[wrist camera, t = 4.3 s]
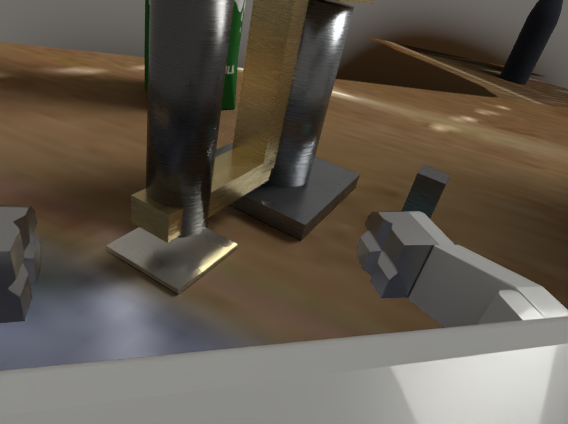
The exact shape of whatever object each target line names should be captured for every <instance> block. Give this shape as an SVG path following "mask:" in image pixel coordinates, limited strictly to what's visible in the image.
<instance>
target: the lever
mask: <svg viewBox="0 0 568 424" xmlns="http://www.w3.org/2000/svg"><path fill="white" fill-rule="evenodd" d="M334 1H337V2H348V3H363V4H373V1H374V0H334ZM308 2H309V0H253V7H252V15H251V21H250V28H249V35H248V42H247V50H246V56H245V63H244V70H243V77H242V84H241V91H240V98H239V105H238V112H237V119H236V126H235V133H234V140H233V147H232V150H230V151H228V152H226V153H223V154H221V155H219V156H217V157H215V155H216V147H217V139H218V130H219V122H220V114H221V105H222V97H223V89H224V80H225V72H226V64H227V56H228V47H229V39H230V31H231V22H232V14H233V6H234V0H150V21H149V66H148V112H147V158H146V189H143V190H141V191H139V192H137V193H134V194H132V195H131V222H132V223H133V224H135V225H137V226H139V227H140V228H142V229H144V230H146V231H147V232H149V233H151V234H153V235H154V236H156V237H158V238H160V239H162V240H163V241H165V242H167V243H168V242H170V241H172V240H173V239H175V238H185V237H190V236H194V235H196V234H199V233H200V232H202V231H203V230H204V229H205V228H206V226H207V222H208V217H210V216H212V215H213V214H215V213H216V212H218V211H220V210H221V209H223V208H224V207H226V206H228V205H229V204H231V203H232V202H234V201H236V200H237V199H239V198H240V197H242V196H244V195H245V194H247V193H248V192H250V191H252V190H253V189H255V188H256V187H258V186H260V185H261V184H263V183H264V182H266V181H268V180H269V177H270V172H271V169H272V168H274V166H275V161H276V156H277V151H278V146H279V141H280V137H281V132H282V127H283V122H284V117H285V113H286V108H287V103H288V98H289V93H290V88H291V84H292V79H293V74H294V69H295V64H296V59H297V55H298V50H299V45H300V40H301V35H302V31H303V26H304V21H305V16H306V11H307V6H308Z"/></svg>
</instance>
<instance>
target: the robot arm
mask: <svg viewBox="0 0 568 424" xmlns="http://www.w3.org/2000/svg"><path fill="white" fill-rule="evenodd" d="M36 224H37V221H36V216H35V210H34V209H33V207H32V206H18V205H0V323H9V322H21V321H25V318H26V315H27V312H28V309H29V306H30V302H31V299H32V293H31V286H32V285H33V284H35V283H36V282H37V280H38V276H39V273H40V265H41V247H40V240H39V239H38V238H37V237H36V236H35V235H34V234H33V233H34V230H35V227H36ZM365 225H366V228H367V230H368V231H367V232H366V233H365V234H364V235H362V236H361V237H360V240H359V243H358V247H357V257H358V260H359V264H360V265H361V267H362V269H363V270H364V271H366V272H367V273H369V274H370V275H372V276H371V280H370V282H371V283H372V285H373V286H374V288H375V290H376V291H377V293H378V294H379V296H380V298H408V299H409V300H410V301H411V302H413V303H414V304H415V305H416V306H418V307H419V308H420V309H421V310H423V311H424V312H425V313H426V314H428V315H429V316H430V317H432V318H433V319H434V320H435V321H437V322H438V323H439V324H440V325H442V326H443V327H444V328H439V329H428V330H418V331H407V332H397V333H386V334H376V335H365V336H355V337H344V338H334V339H323V340H313V341H303V342H293V343H283V344H272V345H262V346H252V347H242V348H232V349H221V350H211V351H201V352H191V353H180V354H170V355H160V356H149V357H139V358H129V359H118V360H108V361H98V362H87V363H77V364H66V365H56V366H46V367H35V368H25V369H15V370H4V371H0V424H568V310H567V309H566V308H565V307H564V306H563V305H562V304H561V303H560V302H559V301H558V300H556V299H555V298H554V297H553V296H552V295H551V294H550V293H549V292H548V291H547V290H546V289H545V288H544V287H542V286H540V285H538V284H536V283H534V282H532V281H530V280H528V279H526V278H524V277H522V276H520V275H518V274H516V273H514V272H512V271H510V270H508V269H506V268H504V267H502V266H500V265H498V264H496V263H494V262H492V261H490V260H488V259H486V258H484V257H482V256H480V255H478V254H476V253H474V252H472V251H470V250H468V249H466V248H464V247H462V246H460V245H454V244H453V243H452V242H451V241H450V240H449V238H448V237H447V236H446V235H445V234H444V233H443V232H442V231H441V230H440V229H439V228H438V227H437V226H436V225H435V224H434V223H433V222H432V221H431V220H430V219H429V218H428V217H427V215H426V214H425V213H422V212H420V211H407V212H372V213H371V214H370V215H369V216H368V218H367V221H366V224H365Z"/></svg>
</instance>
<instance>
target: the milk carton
mask: <svg viewBox="0 0 568 424" xmlns="http://www.w3.org/2000/svg"><path fill="white" fill-rule="evenodd" d="M245 1H246V0H234V6H233V14H232V22H231V31H230V39H229V47H228V56H227V64H226V72H225V80H224V89H223V97H222V105H221V110H223V109H235V97H236V81H237V64H238V52H239V45H240V38H241V31H242V23H243V16H244V8H245ZM149 21H150V0H145V89H147V90H148V66H149Z"/></svg>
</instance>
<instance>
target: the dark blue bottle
mask: <svg viewBox="0 0 568 424" xmlns="http://www.w3.org/2000/svg"><path fill="white" fill-rule="evenodd" d="M562 3H563V0H539V1H538V2H537V3H536V5H535V7H534V8H533V9H532V11H531V12H530V14H529V16H528V17H527V20H526V22H525V24H524V26H523V28H522V30H521V32H520V34H519V37H518V39H517V41H516V43H515V45H514V47H513V49H512V51H511V54H510V56H509V58H508V60H507V62H506V64H505V66H504V68H503V70H502V72H501V75H500V77H501V78H503V79H505V80H508V81H511V82H514V83H519V84H526V83H527V81H528V79H529V77H530V75H531V73H532V71H533V69H534V67H535V65H536V63H537V61H538V59H539V57H540V55H541V53H542V51H543V49H544V47H545V45H546V44H547V41H548V39H549V38H550V36H551V34H552V32H553V30H554V28H555V26H556V24H557V22H558V19H559V16H560V13H561V9H562Z"/></svg>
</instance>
